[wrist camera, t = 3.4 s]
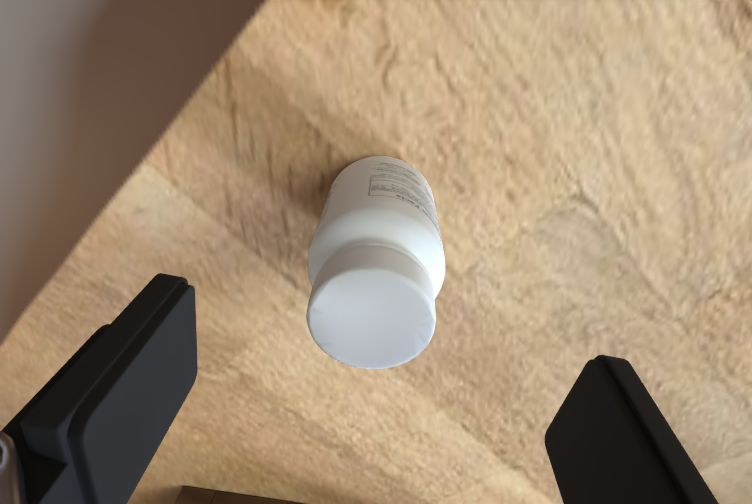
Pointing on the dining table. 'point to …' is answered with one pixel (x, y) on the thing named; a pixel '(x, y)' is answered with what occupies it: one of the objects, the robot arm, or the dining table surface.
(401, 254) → the pill bottle
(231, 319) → the dining table surface
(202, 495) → the grid rack
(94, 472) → the robot arm
